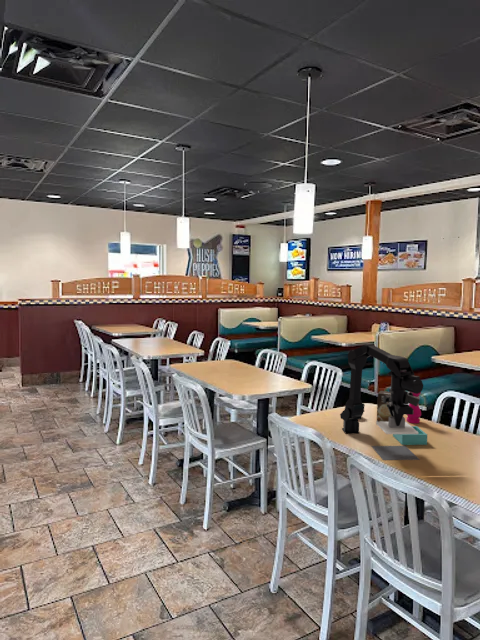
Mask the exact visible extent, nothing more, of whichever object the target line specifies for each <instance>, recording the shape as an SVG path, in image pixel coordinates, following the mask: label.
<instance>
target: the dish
mask: <svg viewBox="0 0 480 640" xmlns="http://www.w3.org/2000/svg"><path fill="white" fill-rule="evenodd" d="M411 426H412V427H413V428H414V429H415V430H416V431H418V434H392V437H393V438H394V439H395V440H396V441H397V442H398V443H400V445H401V446H417V445H418V446H419V445H420V446H424V445H425V446H427V445H428V433H426V432H425V431H424V430H423V429H421V428H419V426H417V425H416V426H415V425H411Z"/></svg>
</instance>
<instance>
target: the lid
mask: <svg viewBox="0 0 480 640" xmlns="http://www.w3.org/2000/svg"><path fill="white" fill-rule="evenodd" d="M375 424H376V426H378V427H379V429H380V430H381V431H383V433H384V434H386V435H393V434H418V431H416V430H415V429H414V428H413V427H412V426H413V425H411V424H410V423H409V422H407V421H406V417H404V416H403V417H402V420H401V423H400V425H399V426H396V423H395V419H394V417H389V422H375Z"/></svg>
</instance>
